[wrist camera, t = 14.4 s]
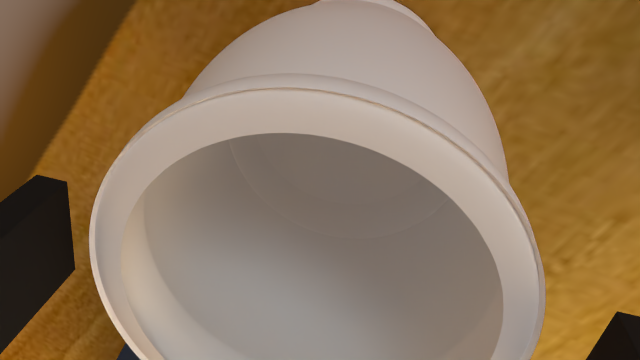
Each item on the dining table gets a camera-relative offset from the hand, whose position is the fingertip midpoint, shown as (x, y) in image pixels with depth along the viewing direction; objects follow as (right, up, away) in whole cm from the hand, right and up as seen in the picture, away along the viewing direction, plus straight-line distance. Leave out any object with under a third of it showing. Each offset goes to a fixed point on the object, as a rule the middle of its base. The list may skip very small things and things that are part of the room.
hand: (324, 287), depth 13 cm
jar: (+2, +7, +12) cm, 14 cm away
